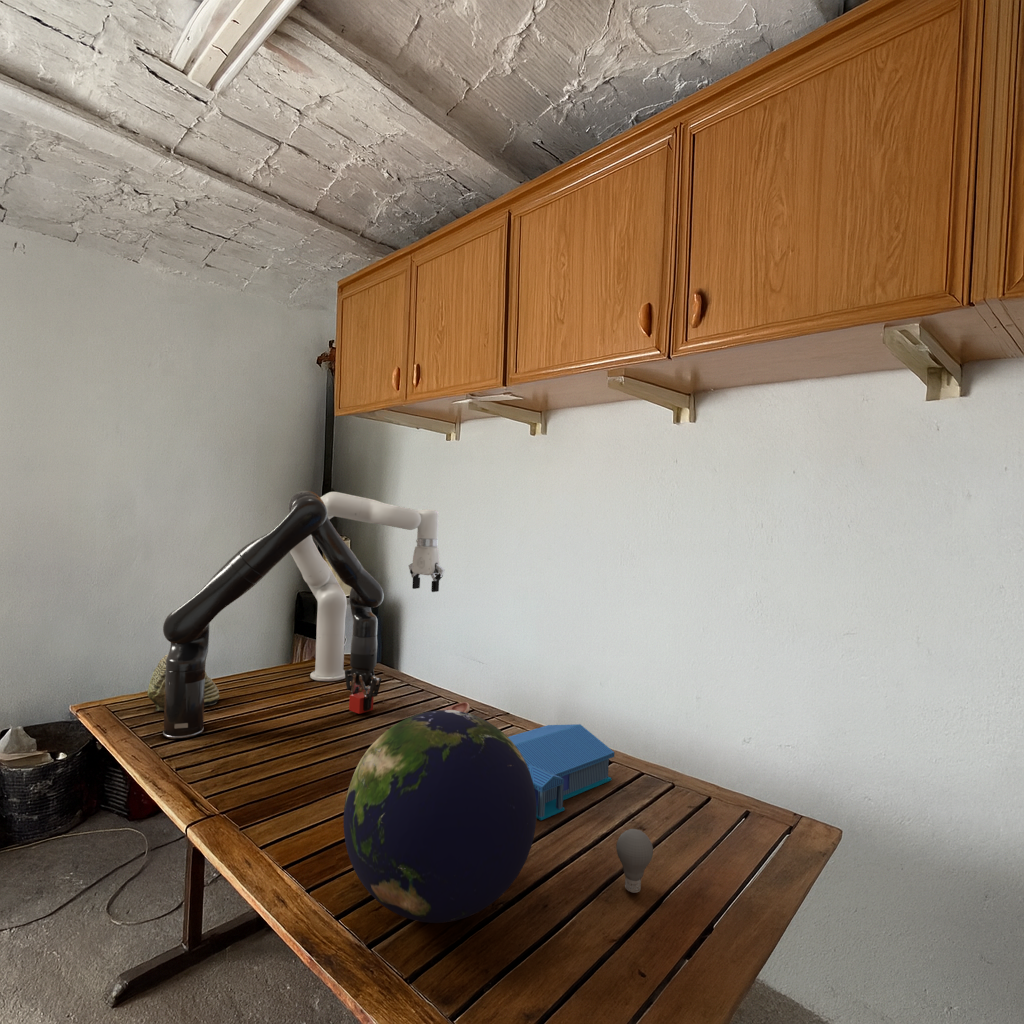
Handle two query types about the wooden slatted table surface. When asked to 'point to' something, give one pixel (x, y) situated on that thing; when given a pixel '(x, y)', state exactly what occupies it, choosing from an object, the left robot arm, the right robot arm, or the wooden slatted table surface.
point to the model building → (562, 763)
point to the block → (358, 703)
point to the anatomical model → (459, 707)
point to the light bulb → (634, 857)
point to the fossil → (158, 687)
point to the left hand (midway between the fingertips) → (361, 708)
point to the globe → (440, 816)
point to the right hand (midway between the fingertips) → (425, 590)
